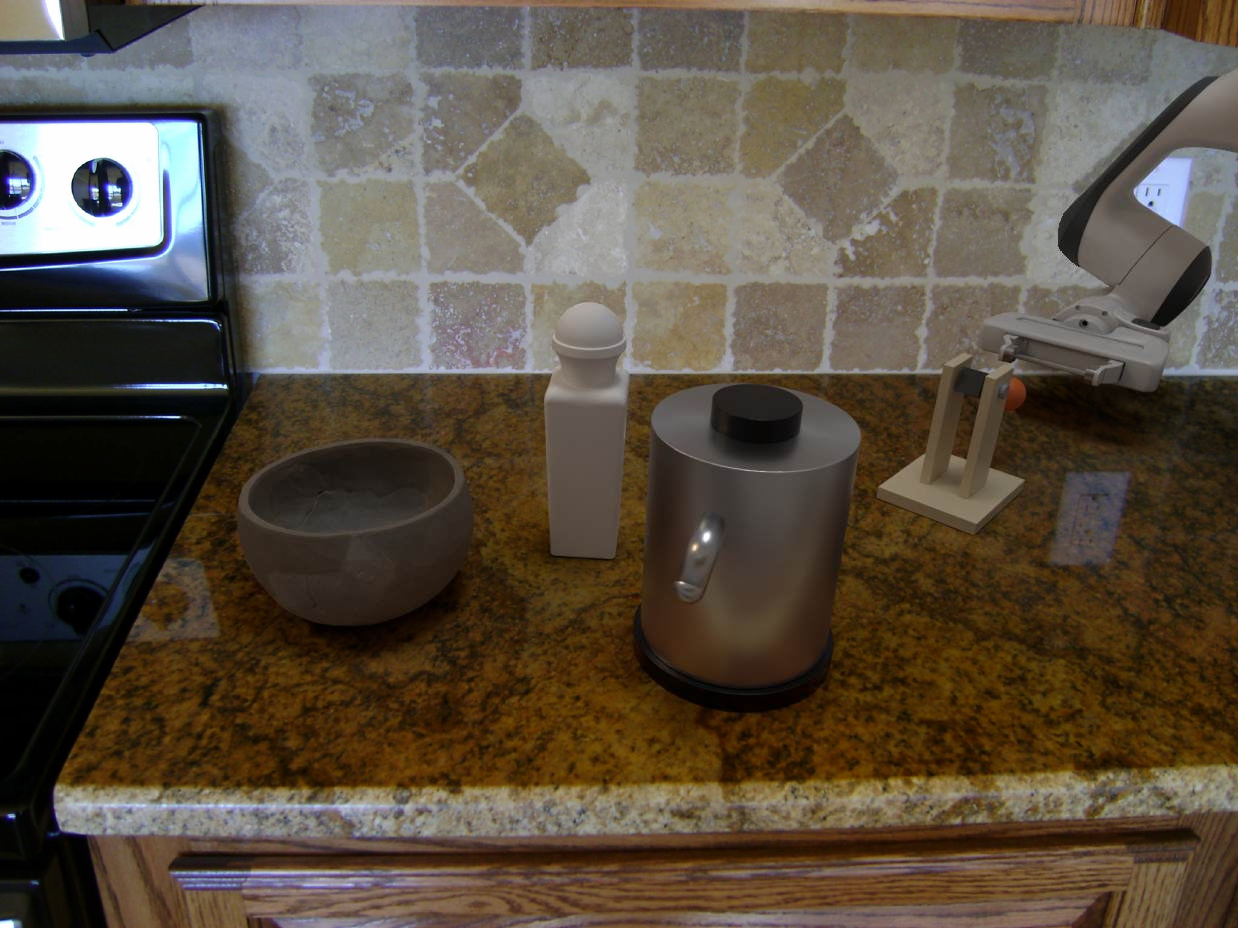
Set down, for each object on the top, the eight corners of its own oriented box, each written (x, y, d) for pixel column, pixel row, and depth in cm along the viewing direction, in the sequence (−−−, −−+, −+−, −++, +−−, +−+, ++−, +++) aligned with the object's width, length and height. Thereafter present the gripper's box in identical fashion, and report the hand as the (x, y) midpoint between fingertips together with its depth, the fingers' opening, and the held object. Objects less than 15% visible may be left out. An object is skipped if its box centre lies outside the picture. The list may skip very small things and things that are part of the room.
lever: (989, 406, 99) (1000, 374, 99) (1022, 416, 97) (1035, 383, 96) (945, 394, 88) (958, 358, 87) (982, 406, 86) (996, 368, 85)
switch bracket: (929, 458, 100) (955, 336, 94) (1022, 490, 94) (1056, 363, 88) (876, 497, 92) (900, 367, 86) (973, 535, 86) (1007, 399, 80)
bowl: (290, 529, 84) (274, 428, 79) (488, 533, 84) (484, 433, 79) (218, 654, 68) (193, 538, 64) (462, 658, 69) (455, 543, 64)
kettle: (779, 776, 59) (821, 501, 50) (574, 698, 65) (577, 439, 56) (862, 600, 77) (904, 371, 67) (693, 551, 82) (711, 334, 73)
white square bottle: (619, 563, 80) (629, 319, 70) (544, 559, 81) (542, 314, 70) (624, 524, 86) (633, 293, 76) (553, 520, 86) (553, 289, 76)
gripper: (1008, 293, 118) (963, 317, 109) (1186, 333, 106) (1152, 364, 97) (997, 340, 121) (952, 368, 111) (1169, 384, 109) (1135, 419, 100)
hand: (1046, 366), depth 104 cm, fingers open, 8 cm apart
